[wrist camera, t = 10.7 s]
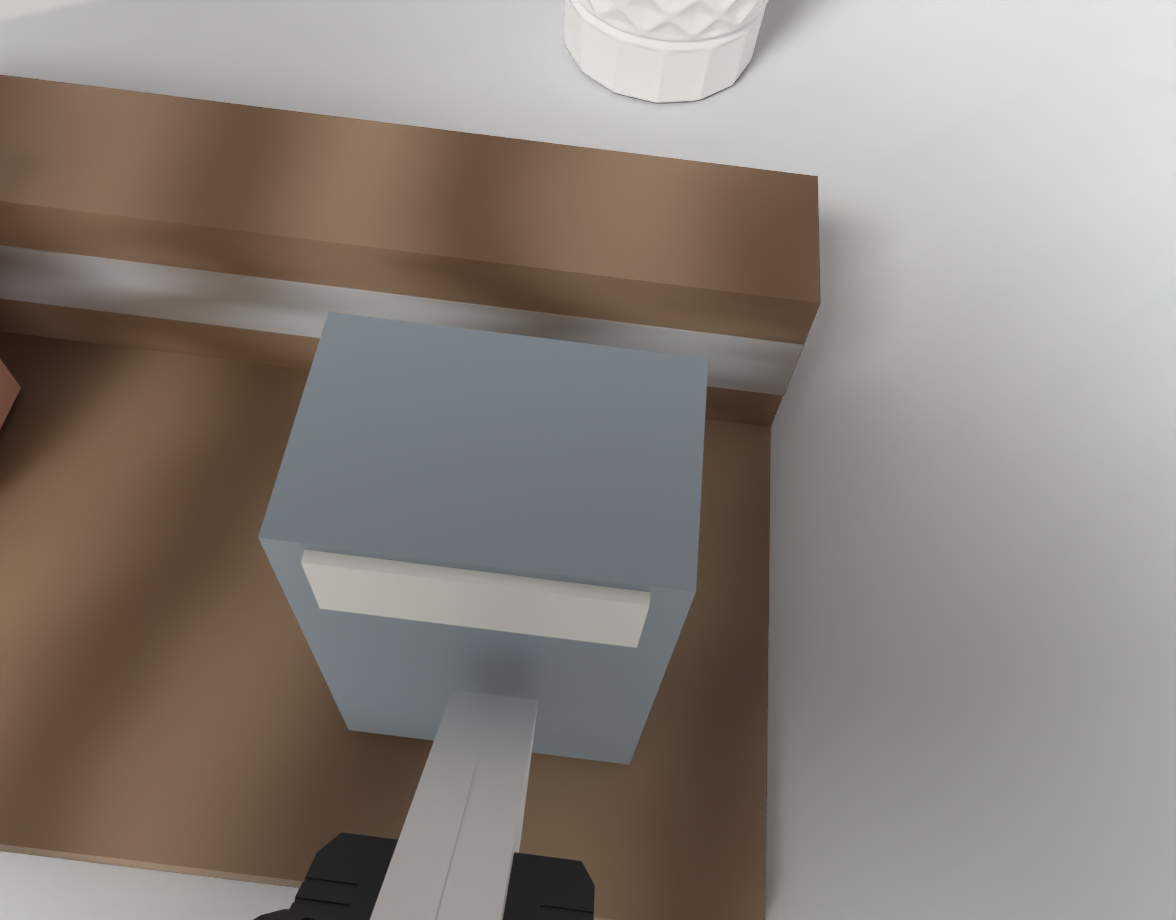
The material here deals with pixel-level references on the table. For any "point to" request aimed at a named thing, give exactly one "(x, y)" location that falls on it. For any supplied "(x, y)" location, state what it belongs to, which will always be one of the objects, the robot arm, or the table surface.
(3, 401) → the salmon orange box
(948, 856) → the table surface
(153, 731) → the wooden display shelf
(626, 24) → the white cup
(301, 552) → the blue gray box
